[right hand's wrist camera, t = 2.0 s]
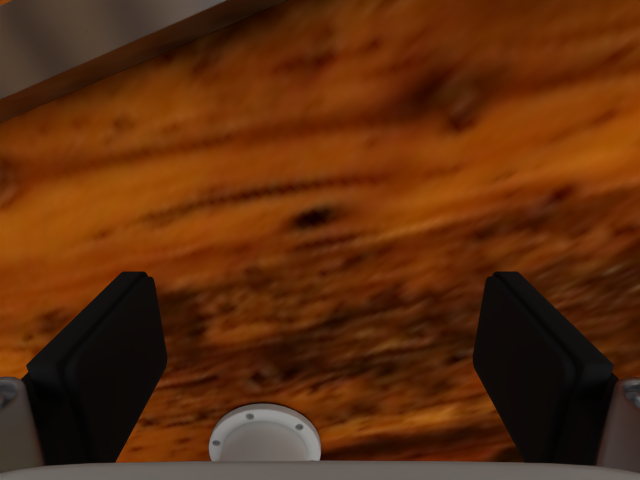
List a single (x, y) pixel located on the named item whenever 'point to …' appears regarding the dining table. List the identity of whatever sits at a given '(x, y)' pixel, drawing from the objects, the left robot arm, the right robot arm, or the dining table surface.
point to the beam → (96, 41)
